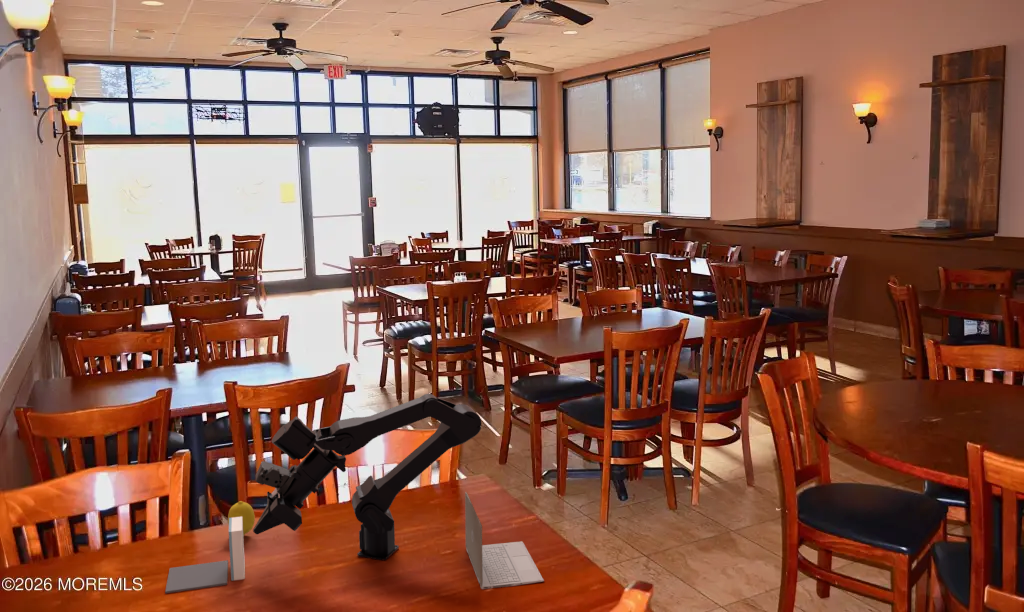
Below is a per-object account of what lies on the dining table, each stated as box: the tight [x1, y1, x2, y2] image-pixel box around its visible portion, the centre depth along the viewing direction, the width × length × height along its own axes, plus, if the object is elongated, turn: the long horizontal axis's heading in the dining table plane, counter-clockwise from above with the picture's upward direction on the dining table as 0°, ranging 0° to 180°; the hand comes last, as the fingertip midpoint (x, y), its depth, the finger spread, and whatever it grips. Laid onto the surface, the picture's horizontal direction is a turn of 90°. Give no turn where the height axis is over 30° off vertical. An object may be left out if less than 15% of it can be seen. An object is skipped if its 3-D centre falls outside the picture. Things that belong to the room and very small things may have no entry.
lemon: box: [227, 500, 256, 537], centre depth 179 cm, size 6×6×8 cm
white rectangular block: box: [228, 517, 246, 582], centre depth 162 cm, size 2×7×10 cm, turn 18°
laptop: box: [464, 491, 545, 590], centre depth 165 cm, size 18×12×13 cm
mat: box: [164, 559, 229, 594], centre depth 161 cm, size 11×10×1 cm
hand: (254, 532), depth 163 cm, fingers closed
